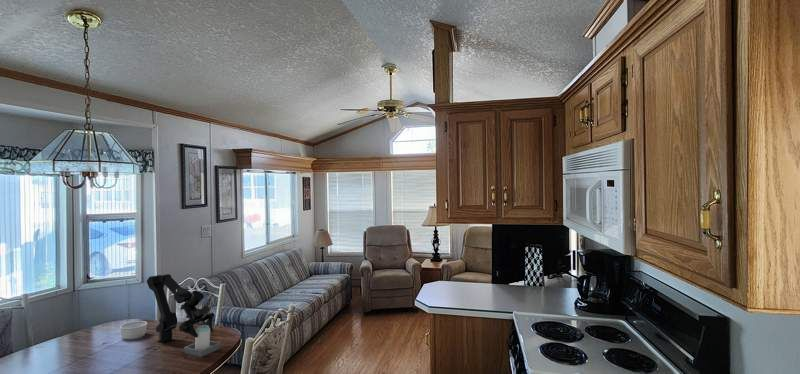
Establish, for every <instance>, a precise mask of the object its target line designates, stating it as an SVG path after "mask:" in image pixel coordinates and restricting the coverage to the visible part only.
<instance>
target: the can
mask: <svg viewBox="0 0 800 374" xmlns="http://www.w3.org/2000/svg"><path fill="white" fill-rule="evenodd" d="M195 331H196V333H197V335H198V337H197V338H196V337H195V338H194V339H195V340H194V341H195V342H194V343H195V349H197V350H201V351H202V350H204V349H206V348H209V346H210V341H211V332H210V328H209V325H204V324H202V325H198V326H197V328H196V330H195Z"/></svg>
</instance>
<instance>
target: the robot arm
mask: <svg viewBox="0 0 800 374" xmlns="http://www.w3.org/2000/svg"><path fill="white" fill-rule="evenodd" d="M146 284H147V286H148V288H149V289H150V290H151V291H152V292H153V294H154V297H155V300H156V304H157V306H158V310H159V314H160V317H159V320H158V322H159V323H158V325H157V326H156V327H155V331H156V332H157V333H159V337H158V338H159V339H158V340H156V342H157V343H161V344H167V343H169V342H172V341H174V340H175V338H173V330H174V329H176V328H177V324H178V319H179V318H178V317H177V313H176V312H172V311H171V308H170V306H169V302H168V297H167V296H166V295H167V294H166V292H165V287H166V288H167V289H168V291H170V292H171V293H172V294H173V300H174V301H175V302H176V303H177V304H181V305H180V311H181V310H183V311H184V312H185V314H186V316H185V318H186V320H184V321H183V322H181V323H180V325H179V326H178V330H179V332H183V333H187V334H188V335H191V336H193V337H196V338H197V337H198V335H197V333H196V330H195V328H194V325H196V324H199V323H202V322H203V325H209V328H210V333H212V332H213V331H214V330H213V319H214V318H215V317H216V315H215V313H214V312H209V311H210V307H209V305H205V306H203V307H202V308H197V306H199V304H200V303H201V302H202V300H204V298H205V295H204V293H202V292H201V291H199V290H192V292H191V291H190V290H188V289H186V288H184V287H182V286H181V285H180V284H178V282H177V281H176V280H175V279H174V278H173V277H172V275H171V274H169V273H166V274H156V275H151V276H149V277H148V278H147V279H146Z"/></svg>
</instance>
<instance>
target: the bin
mask: <svg viewBox="0 0 800 374" xmlns="http://www.w3.org/2000/svg"><path fill="white" fill-rule="evenodd" d="M221 344H222V342H218V341H214V340H210V346H209V348H206V349H204V350H202V351H201V350H197V349H195V342H193V343H191V344H189V345H186V346H184V347H183V354H187V355H190V356H194V357H199V358H203V357H205V356H207V355H209V354H211V353H214V352H215V351H219V350H220V349H221Z"/></svg>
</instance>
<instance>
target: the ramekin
mask: <svg viewBox="0 0 800 374" xmlns="http://www.w3.org/2000/svg"><path fill="white" fill-rule="evenodd" d="M147 326H148V322H147V321H144V320H135V321H129V322H125V323H122V324H121V325H120V327H119V330H120V336H121V339H123V340H135V339H139V338H142V337H143V336H145V334H146V333H147Z"/></svg>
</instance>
